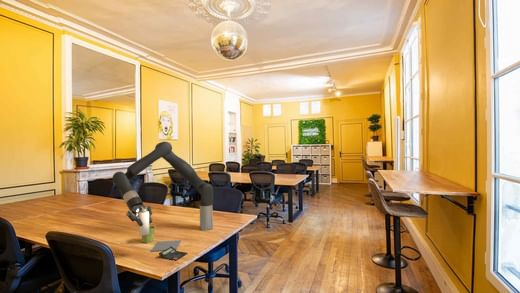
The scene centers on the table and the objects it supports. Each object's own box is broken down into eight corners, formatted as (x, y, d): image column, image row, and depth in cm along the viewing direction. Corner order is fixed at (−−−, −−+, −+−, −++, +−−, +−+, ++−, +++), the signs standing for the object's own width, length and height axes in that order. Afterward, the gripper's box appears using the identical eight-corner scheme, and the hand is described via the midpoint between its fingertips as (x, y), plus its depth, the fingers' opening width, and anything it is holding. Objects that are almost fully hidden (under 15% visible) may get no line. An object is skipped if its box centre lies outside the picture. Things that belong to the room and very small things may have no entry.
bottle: (150, 231, 137) (150, 207, 137) (147, 235, 132) (147, 210, 132) (141, 232, 136) (140, 208, 136) (138, 235, 131) (137, 210, 131)
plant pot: (141, 245, 148) (141, 231, 148) (138, 241, 155) (138, 227, 155) (157, 242, 153) (157, 228, 153) (154, 237, 161) (153, 224, 161)
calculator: (176, 261, 126) (175, 255, 126) (158, 258, 130) (158, 252, 130) (187, 254, 135) (187, 248, 135) (171, 251, 139) (171, 246, 139)
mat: (180, 241, 154) (180, 240, 154) (176, 250, 140) (176, 249, 140) (158, 242, 152) (157, 241, 152) (150, 251, 138) (150, 250, 138)
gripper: (123, 198, 132) (137, 223, 126) (146, 193, 144) (160, 216, 138) (117, 207, 134) (131, 232, 128) (141, 202, 147) (154, 224, 141)
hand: (146, 223), depth 133 cm, fingers closed on bottle, 5 cm apart
